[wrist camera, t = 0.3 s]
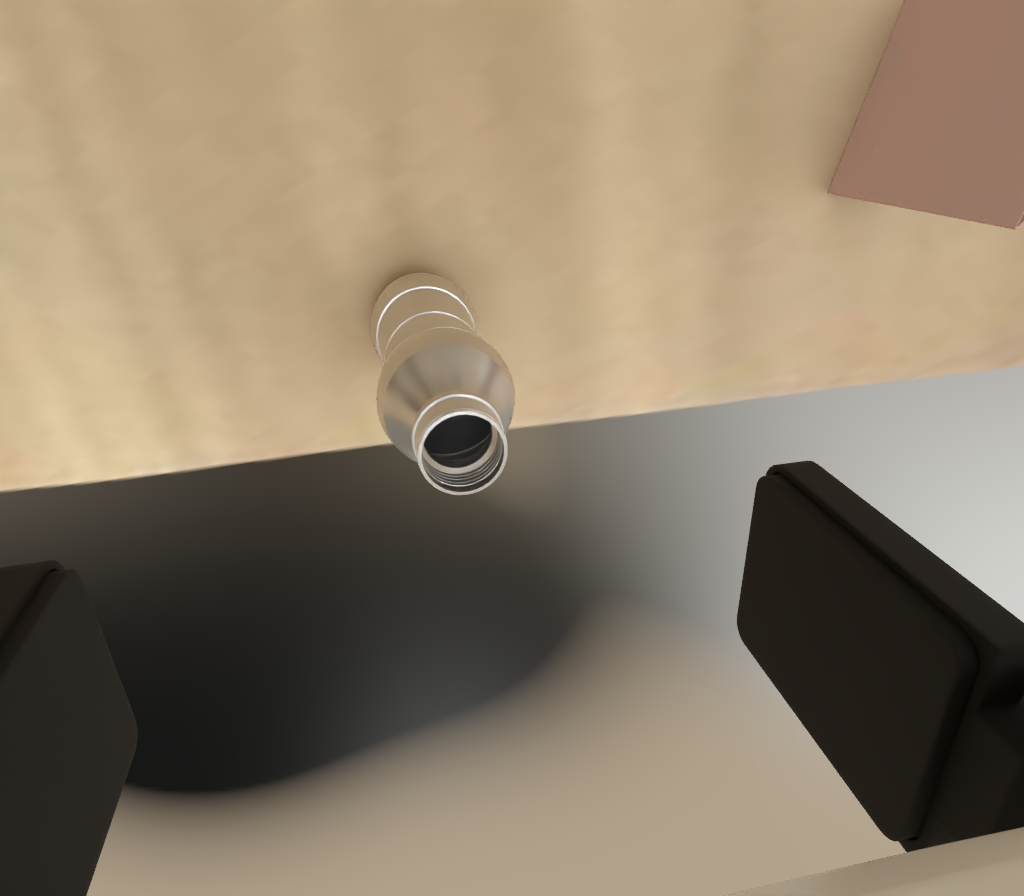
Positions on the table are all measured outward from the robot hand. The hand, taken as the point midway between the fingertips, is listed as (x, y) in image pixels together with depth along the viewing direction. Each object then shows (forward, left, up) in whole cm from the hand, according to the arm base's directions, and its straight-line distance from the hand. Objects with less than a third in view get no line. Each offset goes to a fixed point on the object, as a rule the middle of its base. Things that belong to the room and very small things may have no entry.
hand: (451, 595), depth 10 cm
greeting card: (-7, +32, -36) cm, 49 cm away
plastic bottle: (+6, +2, -36) cm, 37 cm away
